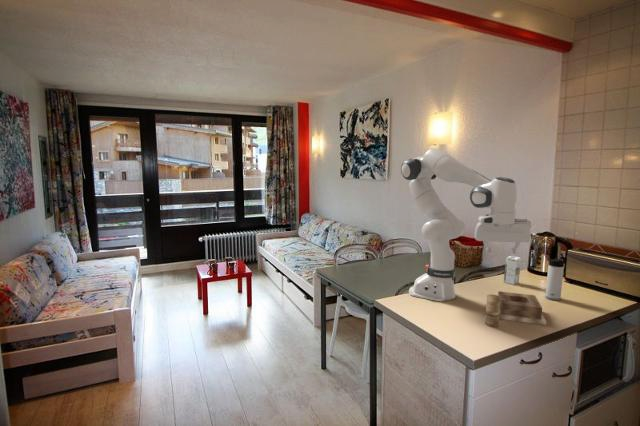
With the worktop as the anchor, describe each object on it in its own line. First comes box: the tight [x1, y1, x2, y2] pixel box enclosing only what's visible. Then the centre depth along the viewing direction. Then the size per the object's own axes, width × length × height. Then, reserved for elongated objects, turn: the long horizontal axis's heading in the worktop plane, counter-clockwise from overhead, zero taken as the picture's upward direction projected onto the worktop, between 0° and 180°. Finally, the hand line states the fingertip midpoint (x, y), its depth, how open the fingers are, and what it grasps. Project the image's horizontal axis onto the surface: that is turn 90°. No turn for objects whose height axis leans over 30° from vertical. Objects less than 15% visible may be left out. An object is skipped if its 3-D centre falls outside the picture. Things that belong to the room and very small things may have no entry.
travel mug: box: [545, 258, 565, 302], centre depth 178 cm, size 6×7×20 cm
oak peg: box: [484, 293, 501, 328], centre depth 151 cm, size 5×5×12 cm
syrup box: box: [503, 255, 522, 286], centre depth 201 cm, size 6×6×14 cm
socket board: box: [497, 290, 547, 326], centre depth 162 cm, size 18×18×6 cm
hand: (500, 252), depth 148 cm, fingers open, 8 cm apart
